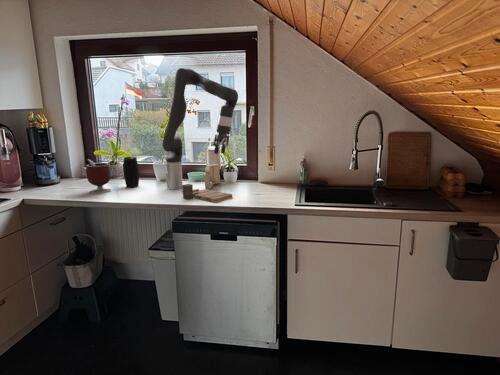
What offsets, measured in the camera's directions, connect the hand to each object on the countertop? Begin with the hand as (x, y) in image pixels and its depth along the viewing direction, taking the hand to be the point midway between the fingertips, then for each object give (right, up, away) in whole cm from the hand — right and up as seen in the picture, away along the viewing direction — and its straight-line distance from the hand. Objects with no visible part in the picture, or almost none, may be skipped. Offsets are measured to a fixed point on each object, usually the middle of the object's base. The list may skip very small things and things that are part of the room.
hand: (219, 153), depth 202 cm
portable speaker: (-61, -19, +35) cm, 73 cm away
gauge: (-16, -25, +4) cm, 30 cm away
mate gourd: (-77, -22, +22) cm, 83 cm away
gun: (-7, -18, +35) cm, 40 cm away
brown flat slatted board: (-6, -25, +4) cm, 26 cm away
